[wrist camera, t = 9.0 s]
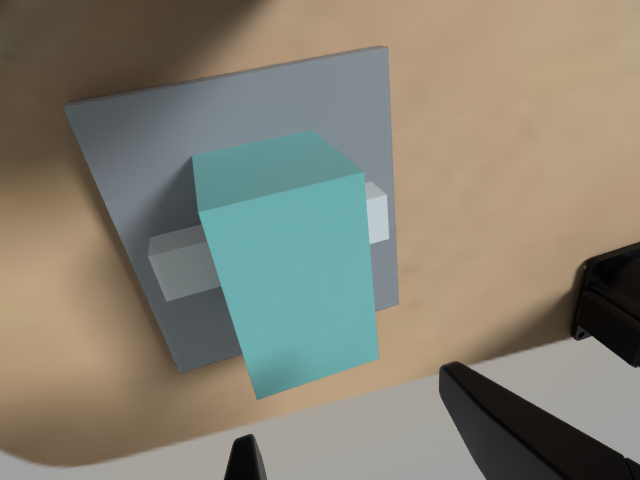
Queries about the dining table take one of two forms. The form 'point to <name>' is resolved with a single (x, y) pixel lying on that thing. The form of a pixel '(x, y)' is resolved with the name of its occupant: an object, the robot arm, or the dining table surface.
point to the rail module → (290, 256)
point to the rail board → (220, 133)
